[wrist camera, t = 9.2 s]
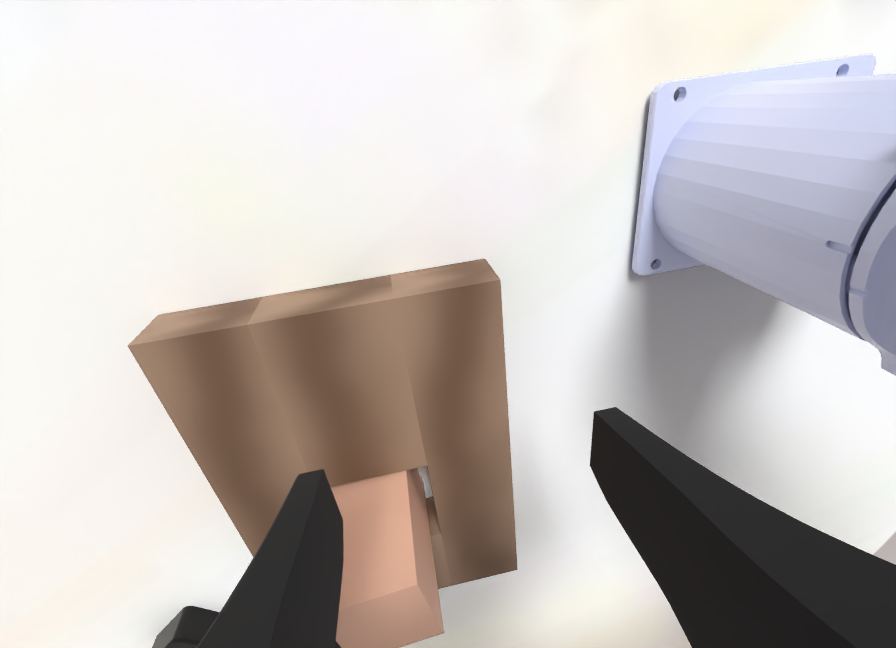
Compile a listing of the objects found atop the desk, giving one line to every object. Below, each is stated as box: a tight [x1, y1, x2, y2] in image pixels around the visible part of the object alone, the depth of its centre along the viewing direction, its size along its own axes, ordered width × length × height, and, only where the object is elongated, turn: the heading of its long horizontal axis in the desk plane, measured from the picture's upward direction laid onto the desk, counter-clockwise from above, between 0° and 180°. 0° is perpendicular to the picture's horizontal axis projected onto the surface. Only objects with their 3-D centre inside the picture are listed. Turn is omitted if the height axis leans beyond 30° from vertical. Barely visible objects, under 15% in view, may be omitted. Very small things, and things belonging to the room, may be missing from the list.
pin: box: [331, 468, 444, 648], centre depth 20 cm, size 4×4×8 cm
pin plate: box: [128, 259, 517, 589], centre depth 22 cm, size 14×20×2 cm
